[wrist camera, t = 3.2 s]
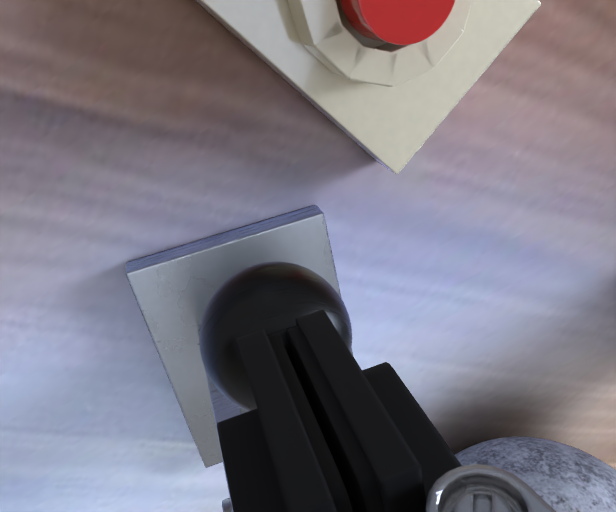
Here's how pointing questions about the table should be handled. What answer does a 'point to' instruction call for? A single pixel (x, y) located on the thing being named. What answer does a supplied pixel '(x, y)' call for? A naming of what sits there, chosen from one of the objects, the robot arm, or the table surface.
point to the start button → (397, 18)
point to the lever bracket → (196, 295)
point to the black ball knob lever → (261, 319)
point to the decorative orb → (550, 471)
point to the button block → (375, 64)
